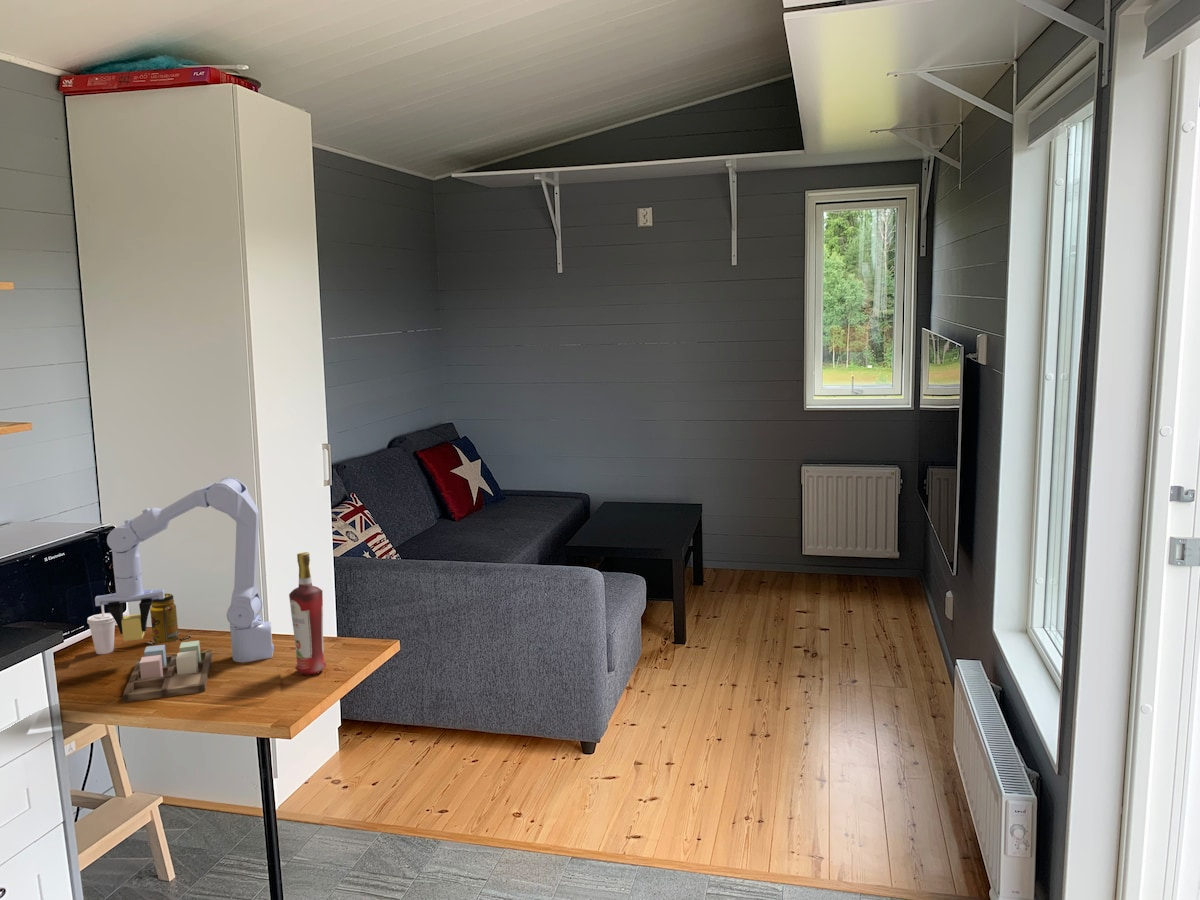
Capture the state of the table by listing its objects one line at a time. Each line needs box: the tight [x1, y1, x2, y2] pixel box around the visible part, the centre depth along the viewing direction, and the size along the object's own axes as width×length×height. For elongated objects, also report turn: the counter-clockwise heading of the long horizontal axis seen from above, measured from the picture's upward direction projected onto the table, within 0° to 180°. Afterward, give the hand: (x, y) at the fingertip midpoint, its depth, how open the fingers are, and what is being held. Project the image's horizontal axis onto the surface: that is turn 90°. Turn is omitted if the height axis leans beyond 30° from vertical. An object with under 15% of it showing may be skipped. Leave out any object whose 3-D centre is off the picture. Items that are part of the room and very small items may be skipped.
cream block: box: [176, 651, 198, 675], centre depth 217 cm, size 4×4×5 cm
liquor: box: [288, 551, 327, 676], centre depth 218 cm, size 7×7×28 cm
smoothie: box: [86, 605, 116, 655], centre depth 234 cm, size 6×6×14 cm
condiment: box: [145, 593, 192, 645], centre depth 245 cm, size 7×8×12 cm
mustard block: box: [121, 613, 145, 642], centre depth 225 cm, size 4×4×5 cm
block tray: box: [122, 649, 213, 703], centre depth 216 cm, size 16×24×2 cm
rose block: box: [140, 655, 163, 680], centre depth 215 cm, size 4×4×5 cm
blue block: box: [143, 644, 167, 666], centre depth 222 cm, size 4×4×5 cm
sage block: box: [179, 640, 201, 662], centre depth 224 cm, size 4×4×5 cm
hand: (133, 631), depth 225 cm, fingers closed on mustard block, 4 cm apart
